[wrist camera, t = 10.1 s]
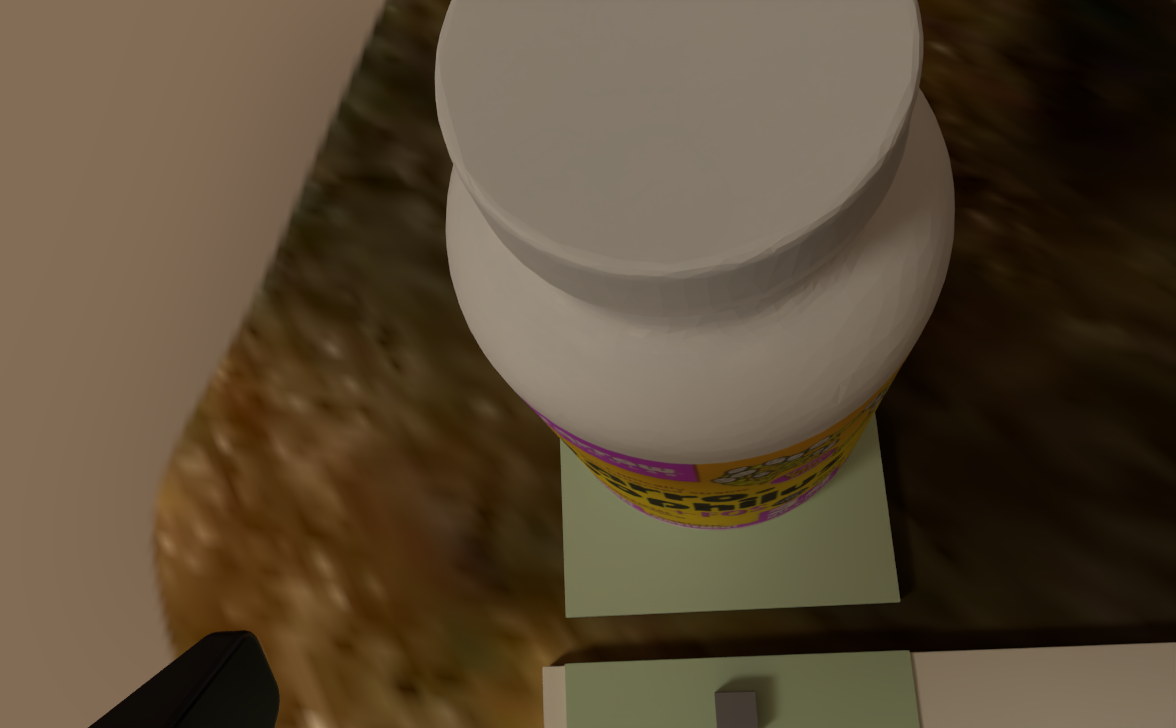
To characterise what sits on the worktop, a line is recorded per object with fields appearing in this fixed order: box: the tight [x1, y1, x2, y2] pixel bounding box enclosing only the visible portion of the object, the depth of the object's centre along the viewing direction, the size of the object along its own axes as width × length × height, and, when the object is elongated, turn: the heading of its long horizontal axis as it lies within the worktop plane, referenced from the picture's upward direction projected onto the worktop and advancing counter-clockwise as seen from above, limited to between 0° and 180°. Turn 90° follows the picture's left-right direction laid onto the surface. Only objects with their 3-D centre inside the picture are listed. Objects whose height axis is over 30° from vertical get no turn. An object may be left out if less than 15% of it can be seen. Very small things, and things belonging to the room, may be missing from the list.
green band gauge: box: [543, 413, 1176, 728], centre depth 20 cm, size 13×16×1 cm
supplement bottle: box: [435, 0, 955, 531], centre depth 15 cm, size 7×7×13 cm
